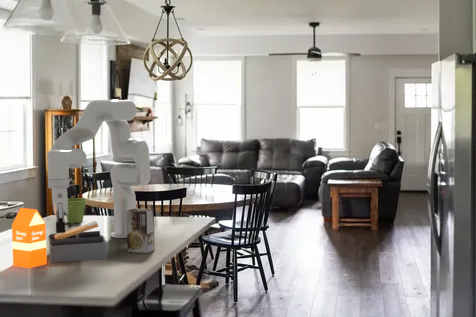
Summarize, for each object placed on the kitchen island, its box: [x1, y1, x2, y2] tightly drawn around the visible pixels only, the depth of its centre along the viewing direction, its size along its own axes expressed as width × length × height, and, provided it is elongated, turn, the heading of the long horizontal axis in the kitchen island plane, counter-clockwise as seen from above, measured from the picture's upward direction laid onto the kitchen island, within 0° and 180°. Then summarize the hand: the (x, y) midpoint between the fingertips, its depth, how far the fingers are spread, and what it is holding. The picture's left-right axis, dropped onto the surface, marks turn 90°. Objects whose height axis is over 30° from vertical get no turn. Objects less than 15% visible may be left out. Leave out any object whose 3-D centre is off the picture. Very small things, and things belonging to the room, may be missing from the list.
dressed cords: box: [48, 230, 105, 245], centre depth 245 cm, size 19×14×2 cm
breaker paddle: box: [54, 220, 99, 239], centre depth 245 cm, size 16×6×1 cm, turn 107°
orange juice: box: [11, 207, 48, 269], centre depth 233 cm, size 8×9×20 cm
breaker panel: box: [48, 234, 108, 264], centre depth 246 cm, size 20×16×9 cm
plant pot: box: [65, 198, 88, 224], centre depth 326 cm, size 12×12×11 cm
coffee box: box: [126, 208, 156, 254], centre depth 254 cm, size 9×6×16 cm
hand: (60, 232), depth 244 cm, fingers closed
